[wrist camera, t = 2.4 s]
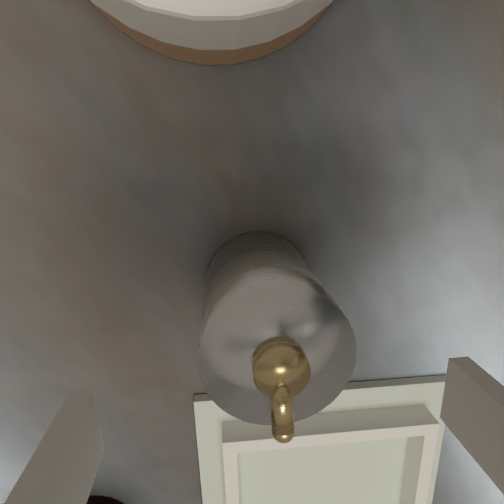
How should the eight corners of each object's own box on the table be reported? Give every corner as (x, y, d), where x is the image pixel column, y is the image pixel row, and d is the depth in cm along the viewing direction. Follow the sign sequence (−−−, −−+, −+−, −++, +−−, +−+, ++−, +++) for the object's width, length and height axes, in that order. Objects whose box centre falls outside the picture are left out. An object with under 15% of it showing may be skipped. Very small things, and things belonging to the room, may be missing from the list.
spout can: (307, 229, 24) (378, 299, 13) (305, 322, 26) (365, 448, 15) (202, 234, 23) (188, 311, 13) (209, 328, 25) (201, 464, 15)
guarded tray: (445, 374, 28) (469, 398, 26) (421, 528, 33) (438, 561, 31) (194, 394, 27) (191, 422, 24) (208, 552, 32) (207, 589, 29)
